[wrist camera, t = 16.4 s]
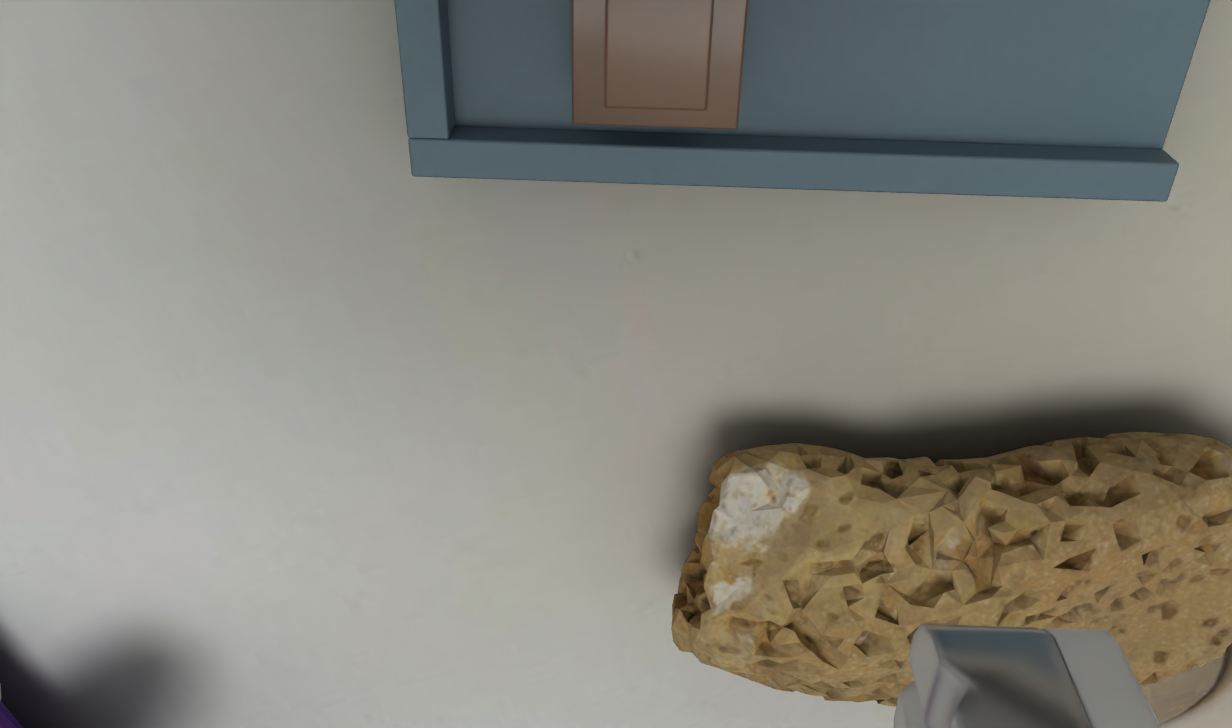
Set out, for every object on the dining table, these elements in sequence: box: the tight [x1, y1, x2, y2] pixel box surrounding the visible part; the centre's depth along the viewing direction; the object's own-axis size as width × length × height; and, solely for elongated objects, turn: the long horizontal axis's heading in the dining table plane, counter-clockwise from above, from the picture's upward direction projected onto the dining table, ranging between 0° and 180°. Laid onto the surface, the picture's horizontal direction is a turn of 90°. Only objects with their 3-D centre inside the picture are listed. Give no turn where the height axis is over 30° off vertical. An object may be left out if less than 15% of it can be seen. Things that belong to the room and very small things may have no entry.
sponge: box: [672, 432, 1232, 706], centre depth 36 cm, size 13×8×20 cm
